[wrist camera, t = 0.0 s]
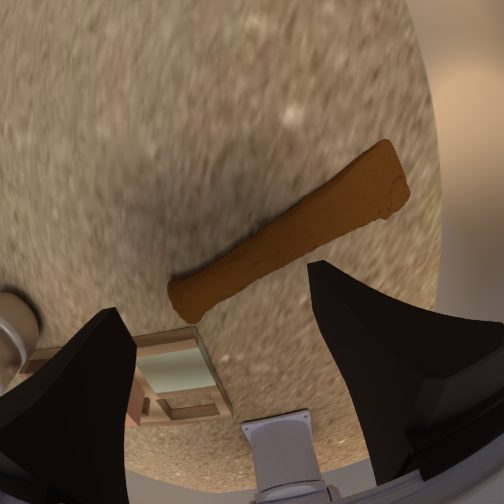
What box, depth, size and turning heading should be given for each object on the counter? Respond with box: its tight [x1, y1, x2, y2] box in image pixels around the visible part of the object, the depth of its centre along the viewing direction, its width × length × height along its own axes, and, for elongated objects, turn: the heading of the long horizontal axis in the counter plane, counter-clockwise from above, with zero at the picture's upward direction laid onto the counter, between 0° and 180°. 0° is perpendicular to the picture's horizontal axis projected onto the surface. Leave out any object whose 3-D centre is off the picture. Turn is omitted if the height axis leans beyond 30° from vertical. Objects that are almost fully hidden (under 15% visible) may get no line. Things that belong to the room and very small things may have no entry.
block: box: [125, 378, 145, 427], centre depth 22 cm, size 4×4×4 cm
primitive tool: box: [167, 139, 410, 324], centre depth 20 cm, size 19×6×4 cm, turn 123°
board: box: [18, 326, 233, 427], centre depth 24 cm, size 12×19×4 cm, turn 102°
